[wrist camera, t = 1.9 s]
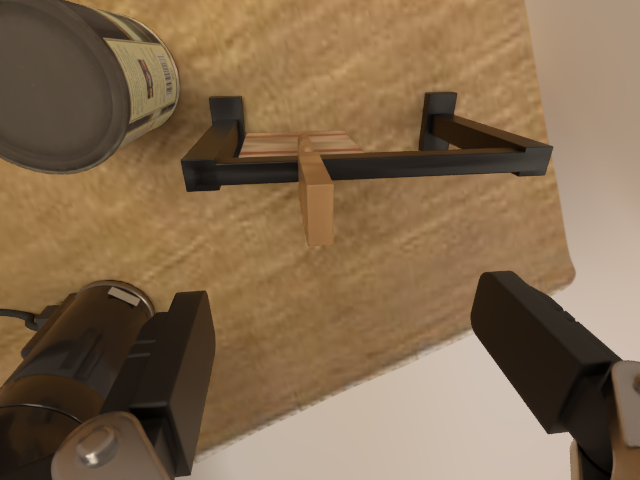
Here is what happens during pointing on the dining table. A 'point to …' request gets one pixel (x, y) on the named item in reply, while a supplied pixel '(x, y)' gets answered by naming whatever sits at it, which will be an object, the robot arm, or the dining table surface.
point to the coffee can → (78, 84)
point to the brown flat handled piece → (307, 172)
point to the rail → (432, 160)
